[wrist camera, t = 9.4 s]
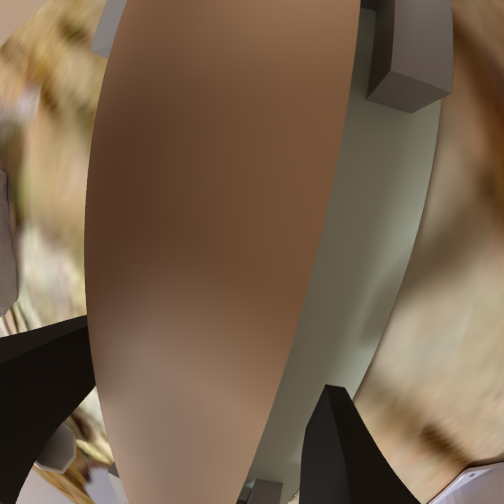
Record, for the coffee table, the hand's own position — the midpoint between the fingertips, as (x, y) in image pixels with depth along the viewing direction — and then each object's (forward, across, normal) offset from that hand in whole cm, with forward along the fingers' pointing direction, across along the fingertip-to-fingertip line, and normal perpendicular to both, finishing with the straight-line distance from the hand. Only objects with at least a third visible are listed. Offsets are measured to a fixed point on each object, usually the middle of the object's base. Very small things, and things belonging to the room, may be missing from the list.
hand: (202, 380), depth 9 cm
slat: (+2, 0, 0) cm, 2 cm away
